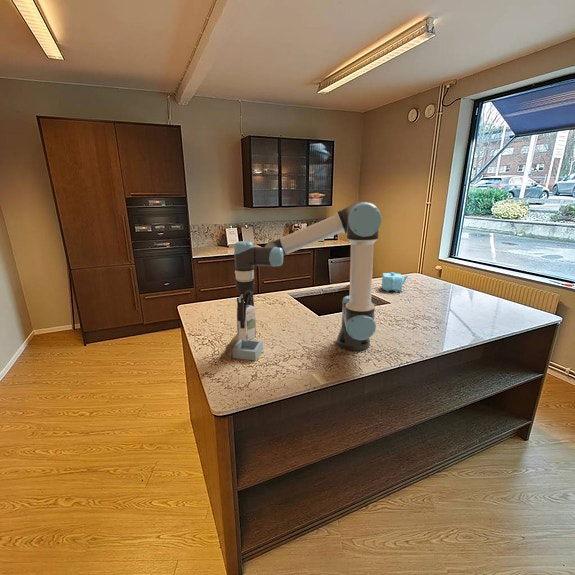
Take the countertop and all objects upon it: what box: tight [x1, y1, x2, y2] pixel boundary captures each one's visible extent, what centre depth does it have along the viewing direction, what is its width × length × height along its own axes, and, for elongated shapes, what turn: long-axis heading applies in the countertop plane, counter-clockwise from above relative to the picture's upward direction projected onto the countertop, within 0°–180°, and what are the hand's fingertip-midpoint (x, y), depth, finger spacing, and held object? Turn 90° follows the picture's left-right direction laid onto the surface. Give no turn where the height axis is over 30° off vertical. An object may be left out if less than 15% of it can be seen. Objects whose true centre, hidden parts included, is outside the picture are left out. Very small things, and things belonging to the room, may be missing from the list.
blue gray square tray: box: [232, 339, 264, 361], centre depth 141 cm, size 10×10×4 cm
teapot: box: [381, 272, 411, 293], centre depth 227 cm, size 18×16×13 cm
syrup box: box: [236, 305, 257, 342], centre depth 137 cm, size 6×6×14 cm
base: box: [219, 332, 240, 361], centre depth 142 cm, size 5×14×6 cm, turn 167°
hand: (246, 330), depth 138 cm, fingers closed on syrup box, 7 cm apart
